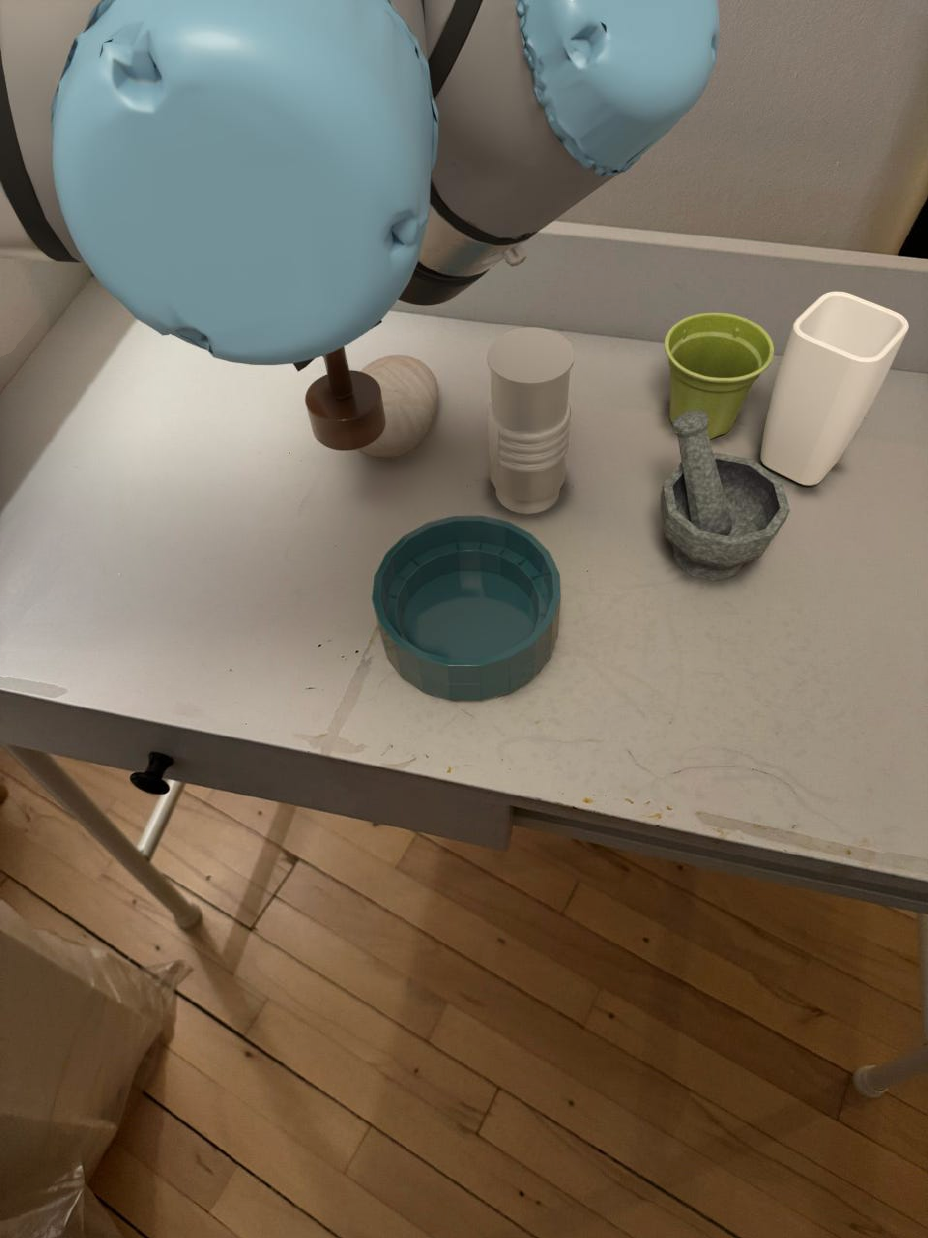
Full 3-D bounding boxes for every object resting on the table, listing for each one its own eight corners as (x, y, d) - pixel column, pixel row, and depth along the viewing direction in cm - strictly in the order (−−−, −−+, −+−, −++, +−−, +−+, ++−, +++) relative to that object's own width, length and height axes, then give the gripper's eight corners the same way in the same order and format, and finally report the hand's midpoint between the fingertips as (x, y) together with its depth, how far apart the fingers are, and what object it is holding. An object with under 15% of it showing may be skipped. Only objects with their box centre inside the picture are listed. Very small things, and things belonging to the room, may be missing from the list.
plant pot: (743, 462, 77) (766, 387, 70) (642, 442, 79) (655, 368, 72) (757, 397, 82) (780, 321, 75) (662, 380, 84) (676, 305, 77)
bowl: (375, 706, 64) (364, 666, 59) (389, 562, 72) (380, 516, 67) (560, 706, 63) (564, 665, 59) (553, 561, 72) (556, 514, 67)
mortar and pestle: (790, 561, 70) (836, 458, 60) (710, 616, 68) (744, 517, 58) (696, 485, 76) (723, 379, 66) (618, 532, 73) (634, 429, 63)
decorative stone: (369, 377, 86) (362, 336, 82) (453, 388, 85) (450, 347, 81) (330, 464, 79) (320, 424, 75) (420, 477, 78) (415, 437, 74)
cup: (853, 458, 77) (917, 319, 65) (813, 503, 74) (873, 366, 62) (782, 424, 80) (831, 285, 68) (741, 466, 77) (785, 328, 65)
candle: (476, 479, 77) (469, 344, 65) (541, 453, 79) (546, 316, 67) (512, 528, 74) (512, 395, 61) (579, 500, 75) (592, 364, 63)
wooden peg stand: (308, 451, 62) (256, 263, 49) (317, 401, 65) (271, 212, 53) (383, 450, 62) (350, 260, 49) (388, 399, 65) (358, 209, 52)
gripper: (371, 344, 38) (253, 440, 59) (582, 213, 44) (405, 344, 65) (275, 189, 36) (188, 346, 57) (509, 73, 42) (351, 255, 63)
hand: (303, 345), depth 61 cm, fingers closed on wooden peg stand, 2 cm apart
